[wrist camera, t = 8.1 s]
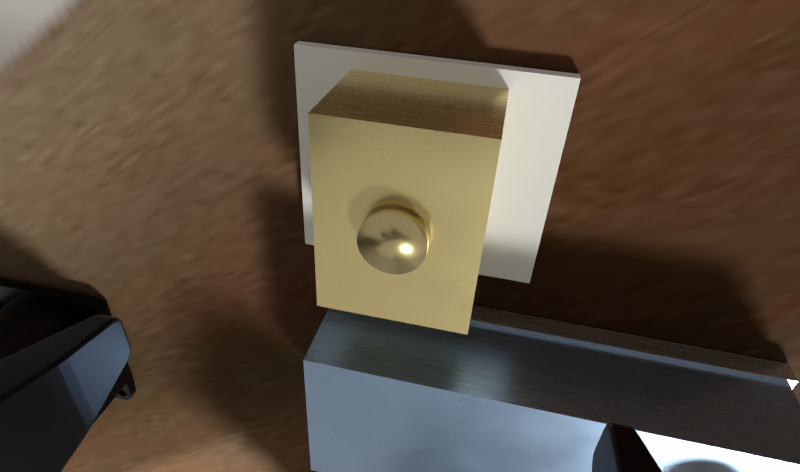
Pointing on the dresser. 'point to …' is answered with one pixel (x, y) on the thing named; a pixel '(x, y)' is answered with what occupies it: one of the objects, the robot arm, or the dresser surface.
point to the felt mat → (519, 152)
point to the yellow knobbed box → (403, 195)
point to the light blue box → (536, 398)
